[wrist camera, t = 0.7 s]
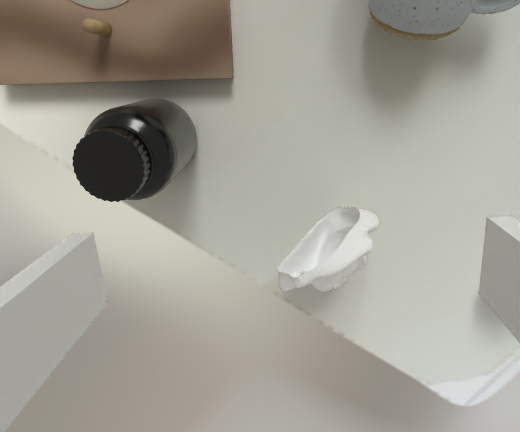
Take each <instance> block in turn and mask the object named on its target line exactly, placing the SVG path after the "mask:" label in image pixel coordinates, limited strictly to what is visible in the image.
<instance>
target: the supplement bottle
mask: <svg viewBox="0 0 520 432" xmlns="http://www.w3.org/2000/svg"><path fill="white" fill-rule="evenodd" d="M196 144H197V135H196V130H195V127H194V124H193V122H192V120H191V118H190V117H189V116H188V114H187V113H186V112H185V111H184V110H183V109H182V108H181V107H179V106H178V105H176V104H175V103H173V102H170V101H168V100H164V99H148V100H143V101H139V102H135V103H131V104H127V105H123V106H119V107H116V108H112V109H109V110H107V111H105V112H103V113H101V114H100V115H98V116H97V117H96V118H95V119H94V120H93V121H92V122H91V124H90V125H89V127H88V128H87V130H86V132H85V135H84V138H82V139H81V140H80V142H79V143H78V144H77V145H76V149H75V150H74V156H73V167H74V172H75V174H76V176H77V179H78V180H79V181H80V184H81V185H82V186H83V187H84V189H85V190H86V191H88V192H89V193H90V194H91V195H94V196H95V197H97V198H98V199H102V200H104V201H106V200H108V201H110V202H112V201H117V202H119V201H120V200H126V199H127V200H140V199H145V198H148V197H151V196H153V195H155V194H157V193H158V192H160V191H161V190H162V189H163V188H164V187H166V186H167V185H168V184H169V183H170V182H171V181H172V180H173V179H174V178H175V177H176V176H177V175H178V174H179V173H180V172H181V171H182V170H183V169H184V168H185V167H186V165H187V164H188V163H189V162H190V160H191V159H192V157H193V155H194V153H195V150H196Z"/></svg>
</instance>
